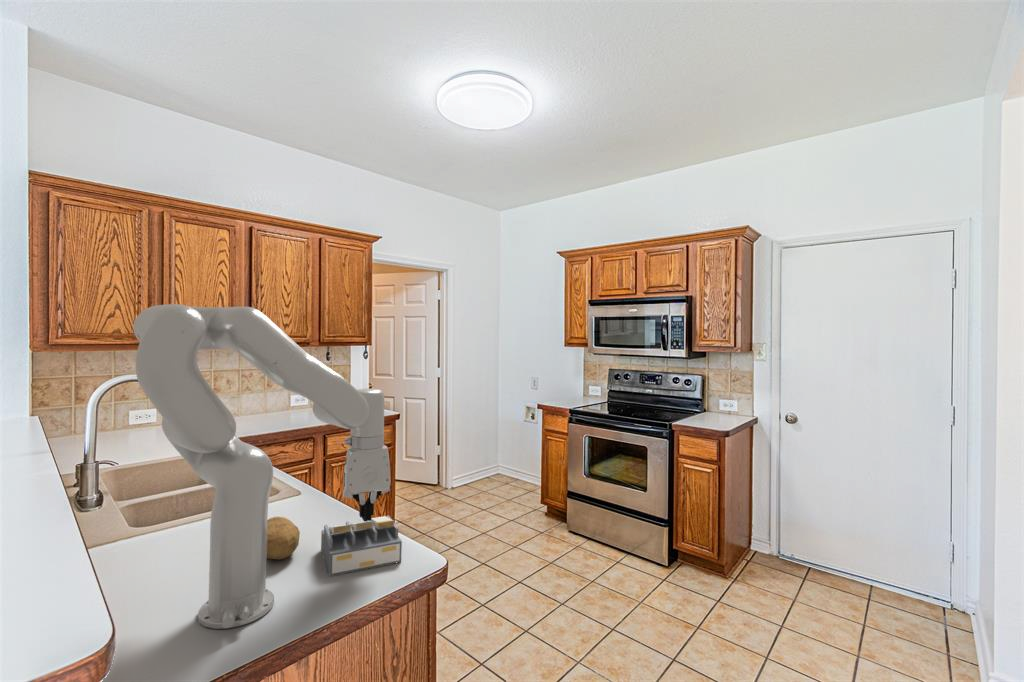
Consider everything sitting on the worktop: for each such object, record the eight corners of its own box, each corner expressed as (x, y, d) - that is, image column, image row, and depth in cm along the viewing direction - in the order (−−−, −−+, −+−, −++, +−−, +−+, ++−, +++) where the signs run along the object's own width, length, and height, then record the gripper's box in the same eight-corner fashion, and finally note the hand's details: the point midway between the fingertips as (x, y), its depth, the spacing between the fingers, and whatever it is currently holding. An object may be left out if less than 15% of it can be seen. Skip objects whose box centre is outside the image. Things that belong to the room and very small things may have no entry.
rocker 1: (350, 531, 110) (350, 524, 111) (334, 533, 109) (333, 527, 109) (344, 530, 117) (344, 524, 117) (328, 533, 115) (328, 527, 116)
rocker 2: (372, 527, 113) (372, 521, 113) (356, 530, 111) (356, 523, 112) (365, 527, 119) (365, 521, 120) (350, 530, 118) (350, 523, 118)
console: (401, 562, 113) (402, 532, 113) (329, 577, 105) (330, 544, 105) (386, 539, 126) (387, 511, 125) (321, 550, 118) (321, 521, 118)
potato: (256, 574, 106) (257, 538, 106) (252, 548, 118) (253, 516, 118) (304, 564, 111) (305, 529, 111) (296, 541, 123) (297, 510, 123)
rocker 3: (393, 526, 115) (393, 520, 115) (378, 529, 113) (378, 523, 114) (385, 521, 122) (385, 516, 122) (370, 524, 120) (370, 518, 121)
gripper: (336, 448, 106) (335, 531, 106) (403, 442, 113) (402, 519, 113) (331, 441, 112) (330, 519, 113) (394, 435, 119) (393, 508, 120)
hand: (366, 518), depth 113 cm, fingers closed
